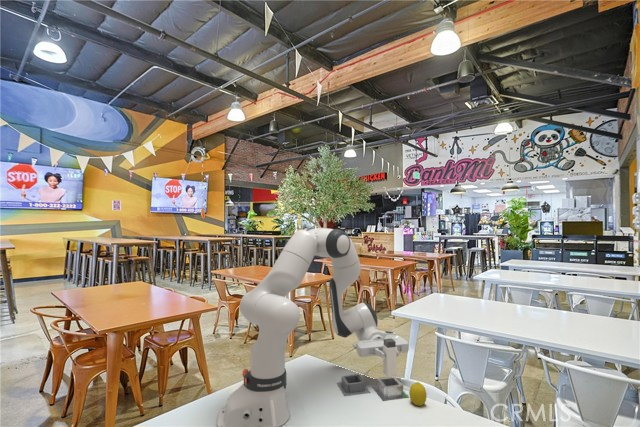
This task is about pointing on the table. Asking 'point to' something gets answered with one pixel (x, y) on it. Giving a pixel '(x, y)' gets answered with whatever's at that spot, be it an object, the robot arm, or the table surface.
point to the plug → (390, 357)
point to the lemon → (417, 394)
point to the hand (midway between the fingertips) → (390, 355)
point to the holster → (352, 385)
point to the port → (390, 389)
